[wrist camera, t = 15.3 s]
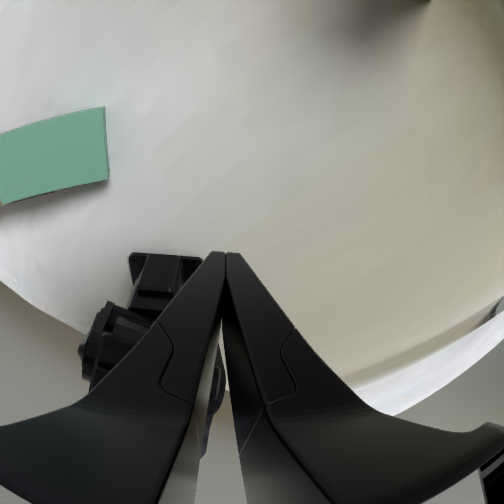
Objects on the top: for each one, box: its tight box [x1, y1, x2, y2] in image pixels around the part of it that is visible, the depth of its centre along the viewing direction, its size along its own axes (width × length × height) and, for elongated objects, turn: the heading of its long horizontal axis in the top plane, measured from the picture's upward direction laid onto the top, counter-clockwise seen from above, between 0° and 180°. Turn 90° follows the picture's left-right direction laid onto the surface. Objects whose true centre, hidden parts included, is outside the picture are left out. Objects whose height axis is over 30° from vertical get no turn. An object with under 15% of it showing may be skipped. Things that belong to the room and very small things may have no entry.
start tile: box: [0, 106, 109, 205], centre depth 14 cm, size 2×5×9 cm
